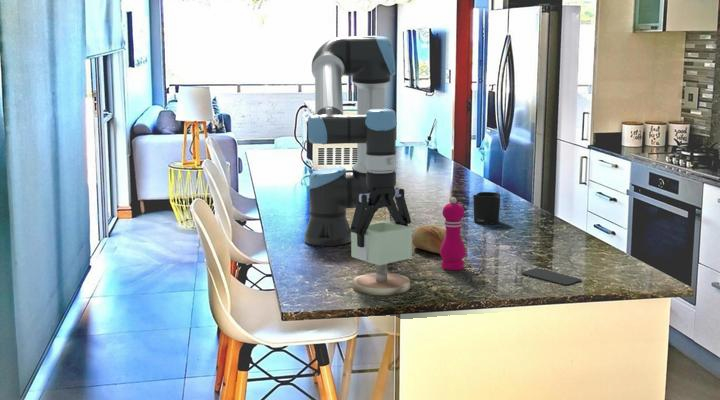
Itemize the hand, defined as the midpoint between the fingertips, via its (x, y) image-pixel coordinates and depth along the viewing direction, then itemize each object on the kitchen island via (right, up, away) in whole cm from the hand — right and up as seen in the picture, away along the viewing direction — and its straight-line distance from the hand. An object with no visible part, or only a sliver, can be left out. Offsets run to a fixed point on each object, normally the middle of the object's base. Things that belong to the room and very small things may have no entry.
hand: (381, 255), depth 203 cm
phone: (+46, -7, +9) cm, 47 cm away
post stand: (0, -8, +2) cm, 8 cm away
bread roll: (+16, -2, +37) cm, 40 cm away
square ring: (0, -1, 0) cm, 1 cm away
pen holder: (+39, +6, +76) cm, 86 cm away
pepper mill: (+21, -5, +19) cm, 28 cm away
